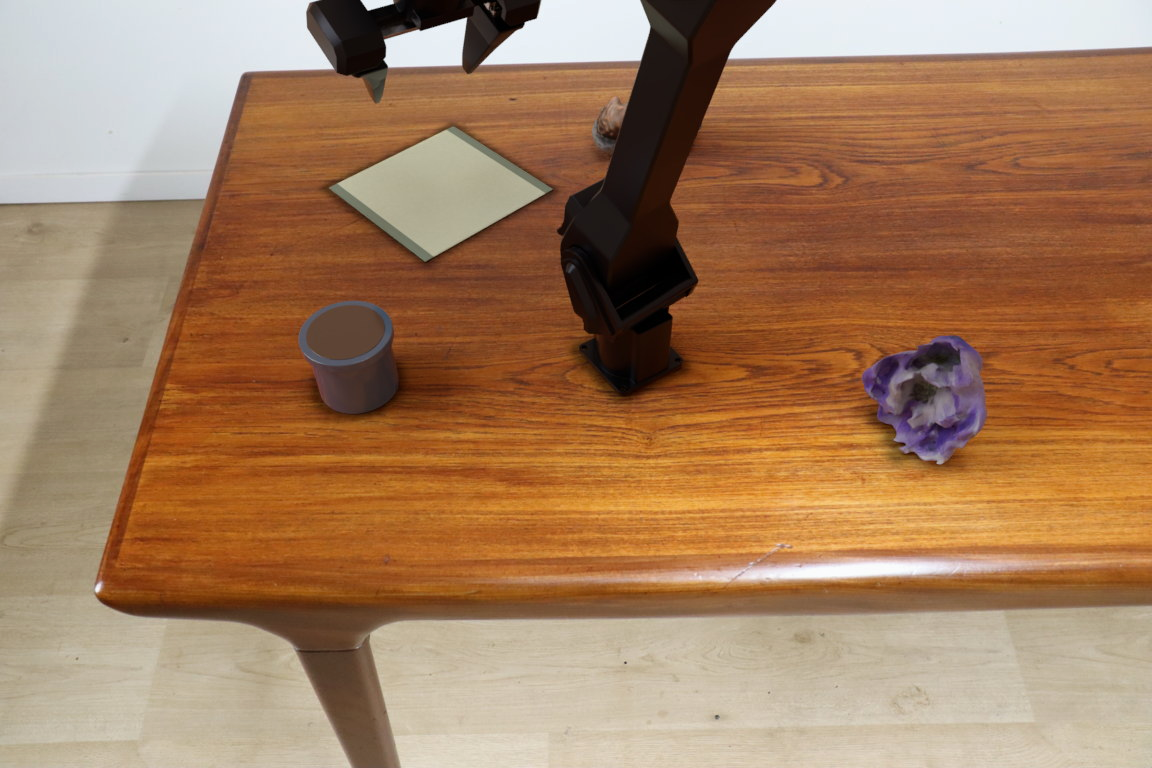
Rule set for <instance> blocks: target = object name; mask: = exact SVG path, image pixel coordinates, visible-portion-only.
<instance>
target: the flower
mask: <svg viewBox="0 0 1152 768" xmlns="http://www.w3.org/2000/svg"><path fill="white" fill-rule="evenodd" d="M916 347H917V348H916V350H905V351H900V352H897V353H894V354H891V355H886V356H884V357H883V358H882V359H880V360H878V361H876V363H874V364H872V365H871V366H870V367H868V368H866V369H865V370H864V371H863V372H862V375H861V382H862V384H863V389H864V391H865V393H866V395H867V396H869V397H870V399H871V400H874V401H875V402H876V403H877V404H878V409H877V414H876V418H877V420H878V421H879V422H881V423H883V424H886V425H891V426H892V427H893V429H894V430H895V433H896V435H895V437H894V438H893V441H894V442H896V443H904V444H905V445H904V446H901V447H900V446H899V447H898V449H899V450H900V452H901V453H903V454H909V453H915V454H916V455H917V456H918V458H919V459H921V460H922V461H924V462H927V461H935V462H936V464H937V465H943V464H944V463H946V462H947V461H948V460H950V458H951V457H952V456H953V455H954V454H955V452H956V450H957V449H960V450H962V449H963V448H964V447H965V446H966V445H967V443H968V442H969V441H970V440H972V439H973V438H975V437H976V436H977V435H978V434H979V433H980V432H981V431H982V430H983V428H984V426H985V424H986V421H987V418H988V410H987V407H986V405H987V404H986V392H985V385H984V381H983V378H982V376H981V372H982V370H983V363H984V360H983V357H982V355H981V354H980V352H979V351H978V350H976V349H975V348H974V347H973V346H972V345H970V343H968V342H967V341H966V340H964V338H962V337H961V336H959V335H955V334H953V335H952V334H951V335H938V336H936V337H934V338H932V339H931V341H930V342H929V343H924V344H919V345H916Z"/></svg>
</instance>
